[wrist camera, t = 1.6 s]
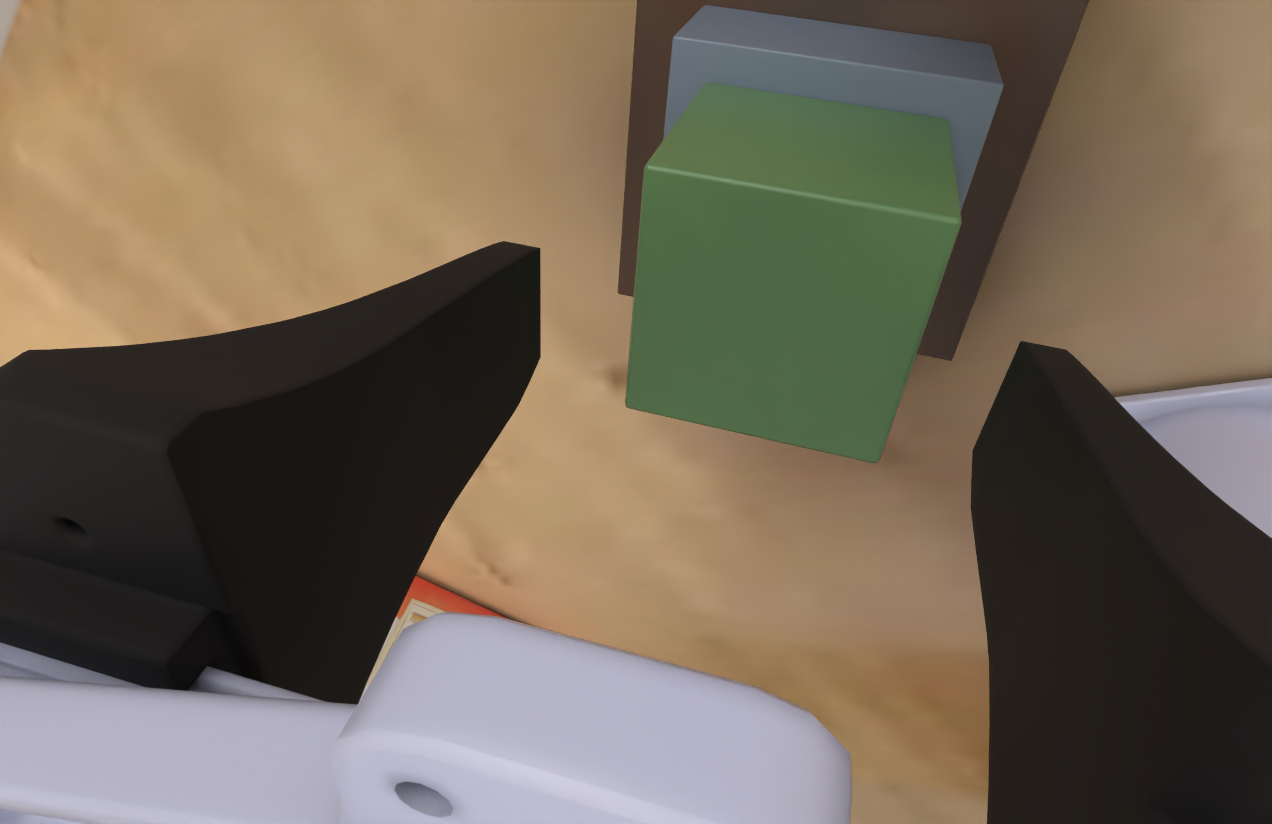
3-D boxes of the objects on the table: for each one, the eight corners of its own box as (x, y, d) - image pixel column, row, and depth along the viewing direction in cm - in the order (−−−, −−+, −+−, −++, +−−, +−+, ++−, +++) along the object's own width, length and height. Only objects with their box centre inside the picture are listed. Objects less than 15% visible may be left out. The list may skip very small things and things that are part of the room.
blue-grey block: (991, 43, 16) (1004, 84, 14) (909, 300, 20) (908, 364, 18) (704, 4, 17) (672, 35, 15) (675, 255, 21) (646, 311, 19)
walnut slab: (1084, -45, 17) (1101, -29, 15) (949, 323, 22) (952, 361, 21) (664, -95, 18) (642, -85, 17) (636, 262, 24) (617, 294, 22)
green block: (951, 118, 15) (963, 219, 11) (884, 331, 18) (878, 466, 14) (704, 80, 15) (643, 164, 12) (679, 290, 18) (623, 409, 15)
